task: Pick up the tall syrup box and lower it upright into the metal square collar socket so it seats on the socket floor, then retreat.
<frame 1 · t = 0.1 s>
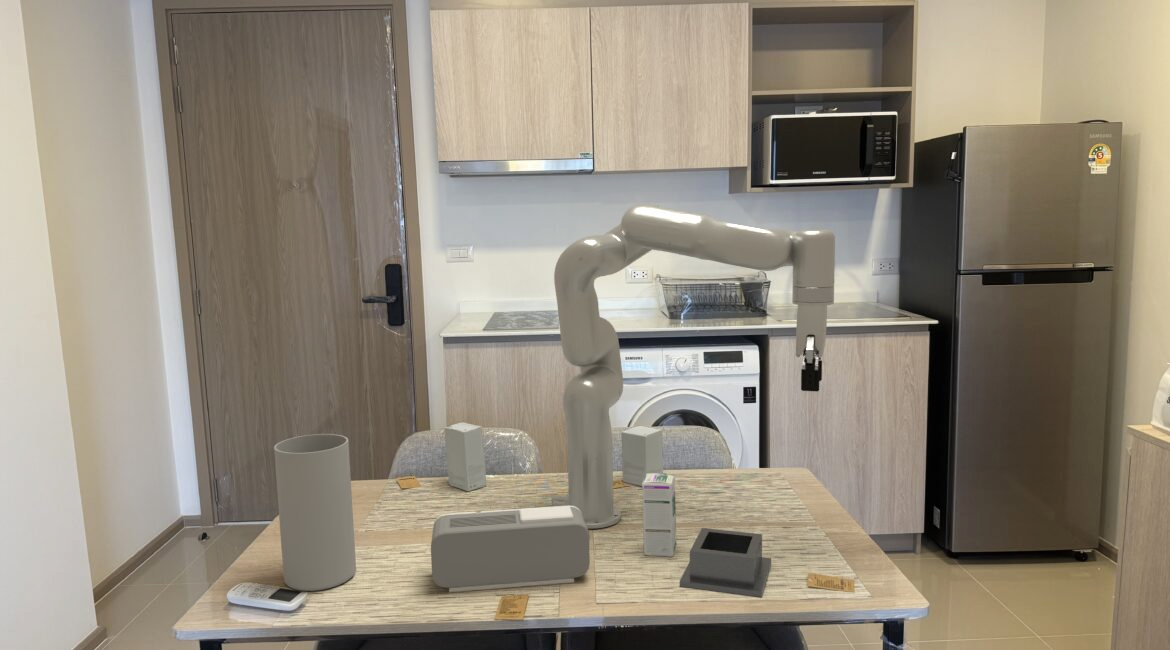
hand: (811, 385, 154), 31 cm above the table, fingers open, 9 cm apart
skincare box: (466, 486, 196), on the table
supplement box: (642, 481, 197), on the table
grey rounded block: (511, 578, 146), on the table
cylinder vase: (320, 578, 147), on the table
syrup box: (659, 551, 156), on the table
socket: (726, 574, 145), on the table
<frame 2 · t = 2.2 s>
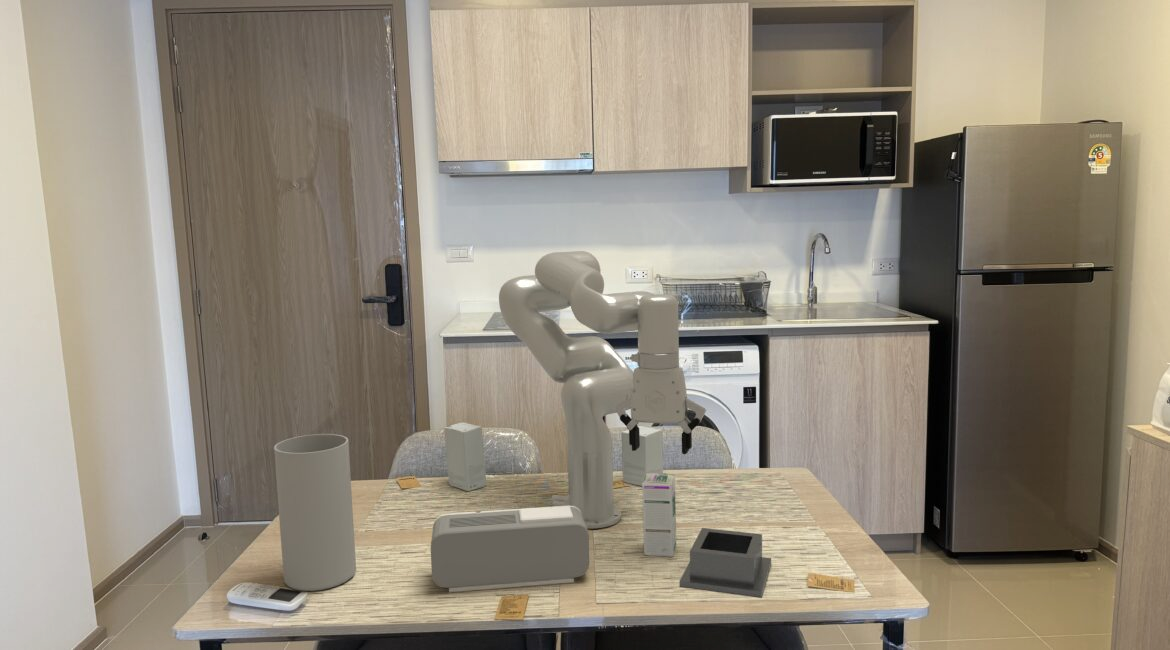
hand: (660, 450, 153), 20 cm above the table, fingers open, 9 cm apart
nothing on the table moved.
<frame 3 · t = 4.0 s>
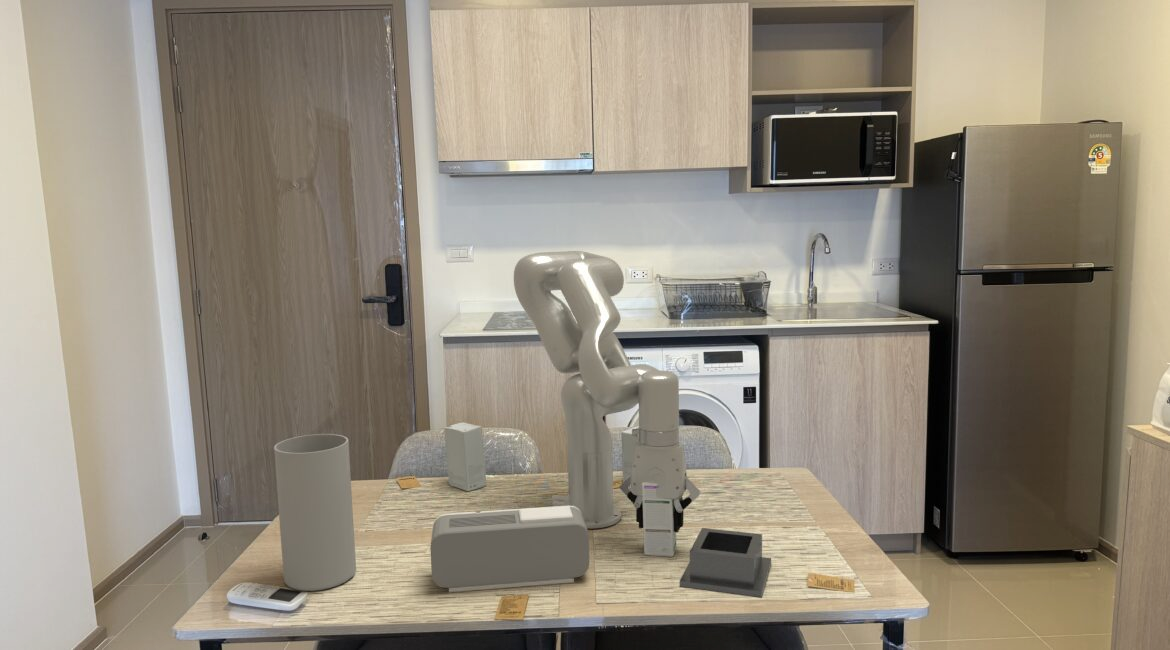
hand: (659, 527, 155), 5 cm above the table, fingers closed on syrup box, 6 cm apart
syrup box: (659, 551, 156), on the table, touching gripper
everything else where it was.
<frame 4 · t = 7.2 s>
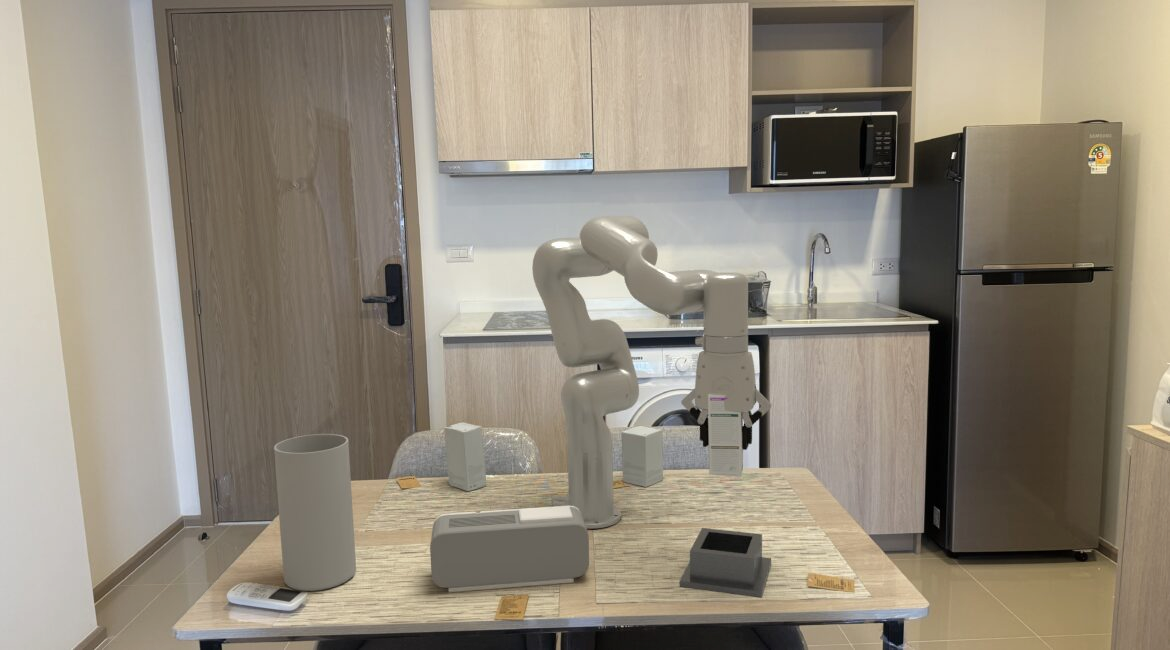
hand: (725, 445, 142), 24 cm above the table, fingers closed on syrup box, 6 cm apart
syrup box: (725, 471, 142), point 19 cm above the table, touching gripper
everything else where it was.
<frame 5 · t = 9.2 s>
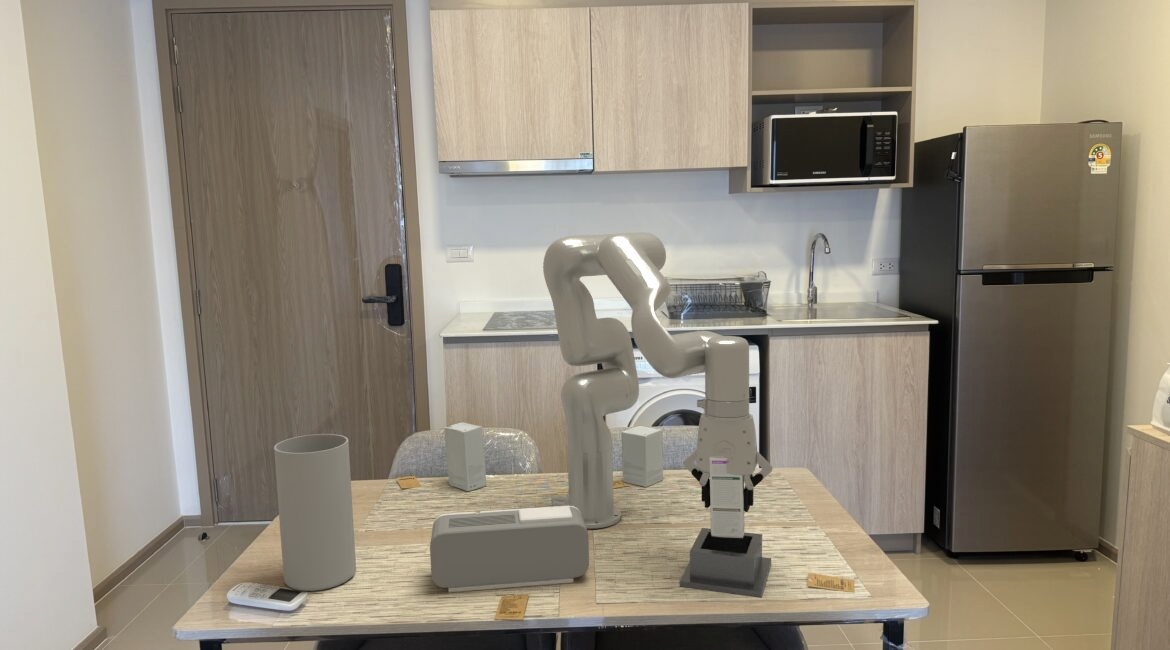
hand: (727, 506, 143), 13 cm above the table, fingers closed on syrup box, 6 cm apart
syrup box: (727, 532, 143), point 8 cm above the table, touching gripper
everything else where it was.
when the fingers open (8 cm above the table, at t = 10.6 s): syrup box drops 2 cm, resting on socket.
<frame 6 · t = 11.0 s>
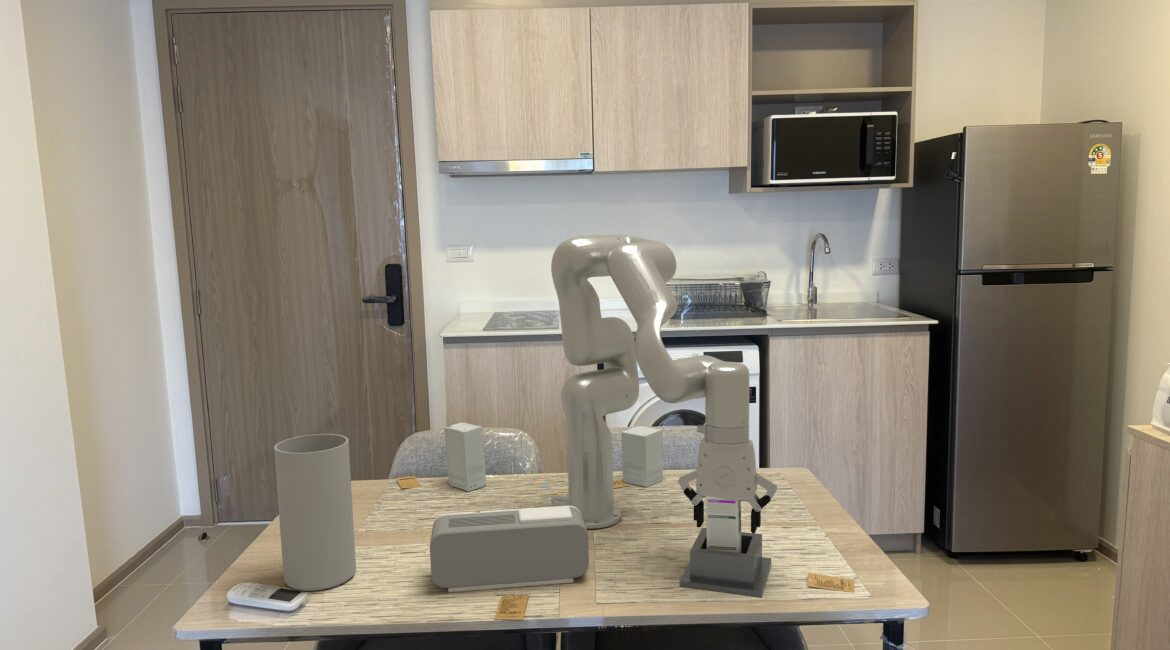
hand: (726, 527, 143), 9 cm above the table, fingers open, 9 cm apart
syrup box: (724, 569, 145), point 1 cm above the table, touching socket
everything else where it was.
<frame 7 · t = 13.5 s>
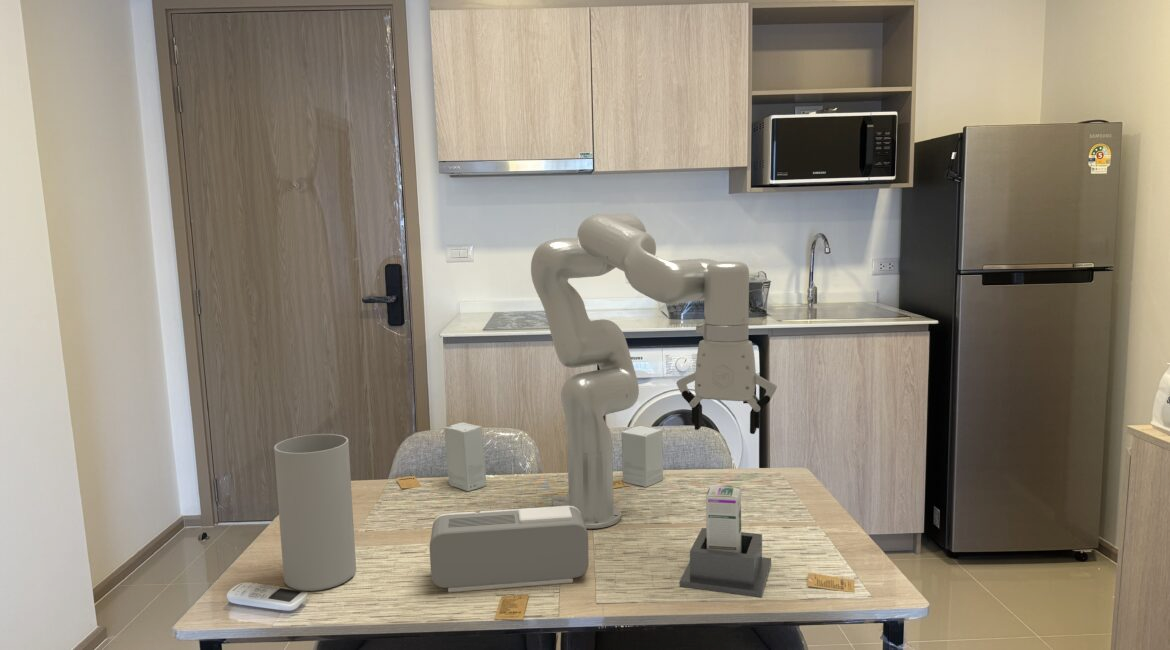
hand: (725, 430, 142), 26 cm above the table, fingers open, 9 cm apart
nothing on the table moved.
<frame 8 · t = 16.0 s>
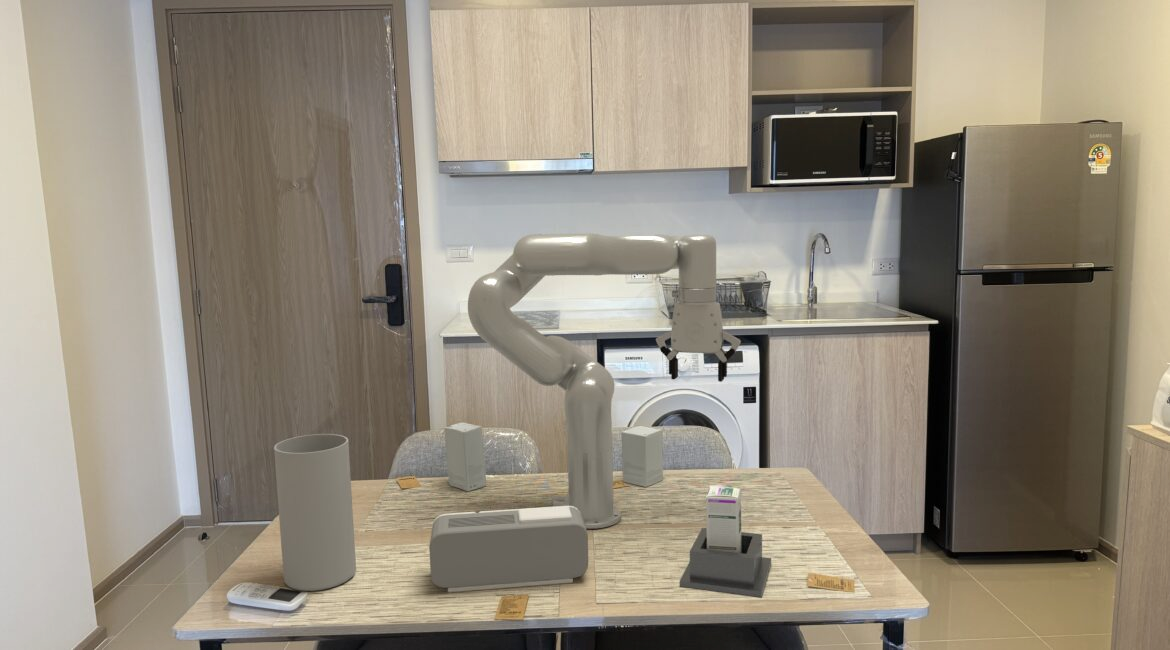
hand: (697, 379, 166), 30 cm above the table, fingers open, 9 cm apart
nothing on the table moved.
at the end: syrup box 0.5 cm off-centre on the socket, point 0.8 cm above the socket's base; syrup box tilted 0°; the gripper is holding nothing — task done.
